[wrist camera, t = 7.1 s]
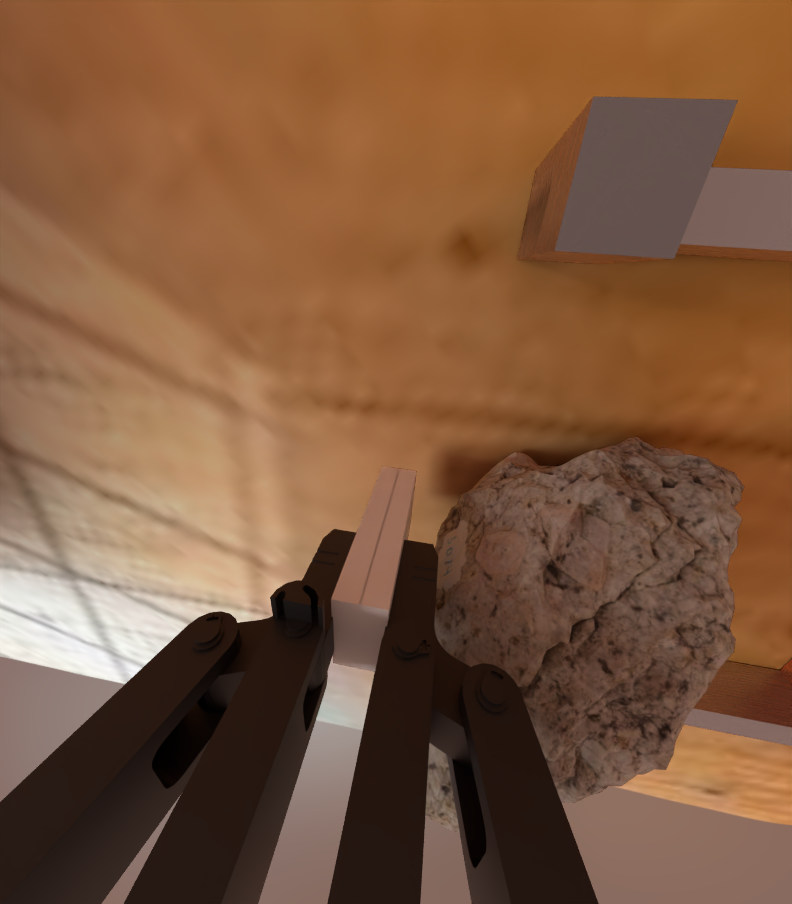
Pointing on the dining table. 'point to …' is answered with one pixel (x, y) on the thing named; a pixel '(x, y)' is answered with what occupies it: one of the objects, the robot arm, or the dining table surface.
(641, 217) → the frame
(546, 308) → the dining table surface
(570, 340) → the dining table surface
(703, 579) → the rock
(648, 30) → the dining table surface
